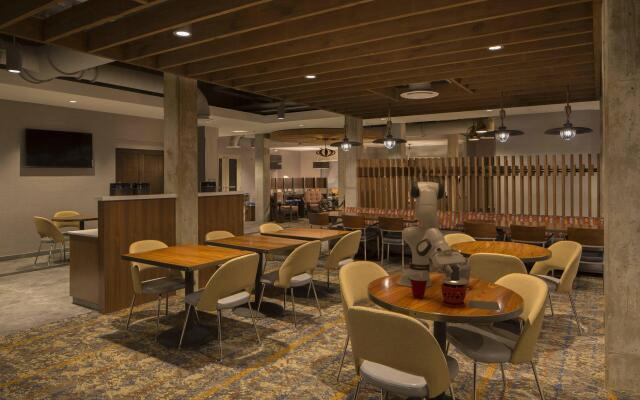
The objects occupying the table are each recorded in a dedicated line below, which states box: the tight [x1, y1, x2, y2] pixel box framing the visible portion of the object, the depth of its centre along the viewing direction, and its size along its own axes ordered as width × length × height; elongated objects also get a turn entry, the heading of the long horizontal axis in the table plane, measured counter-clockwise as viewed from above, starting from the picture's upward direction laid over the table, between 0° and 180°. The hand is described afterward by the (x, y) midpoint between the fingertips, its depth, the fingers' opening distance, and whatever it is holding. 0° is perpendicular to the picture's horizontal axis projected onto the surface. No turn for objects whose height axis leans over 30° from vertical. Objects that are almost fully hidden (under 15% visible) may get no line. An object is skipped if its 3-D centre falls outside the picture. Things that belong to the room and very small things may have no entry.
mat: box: [467, 299, 502, 311], centre depth 253 cm, size 16×16×1 cm
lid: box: [441, 266, 468, 285], centre depth 252 cm, size 14×14×8 cm
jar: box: [445, 250, 472, 288], centre depth 294 cm, size 19×15×25 cm
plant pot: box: [441, 282, 467, 308], centre depth 253 cm, size 13×13×12 cm
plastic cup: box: [410, 277, 428, 300], centre depth 269 cm, size 11×11×12 cm
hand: (455, 272), depth 251 cm, fingers closed on lid, 3 cm apart
